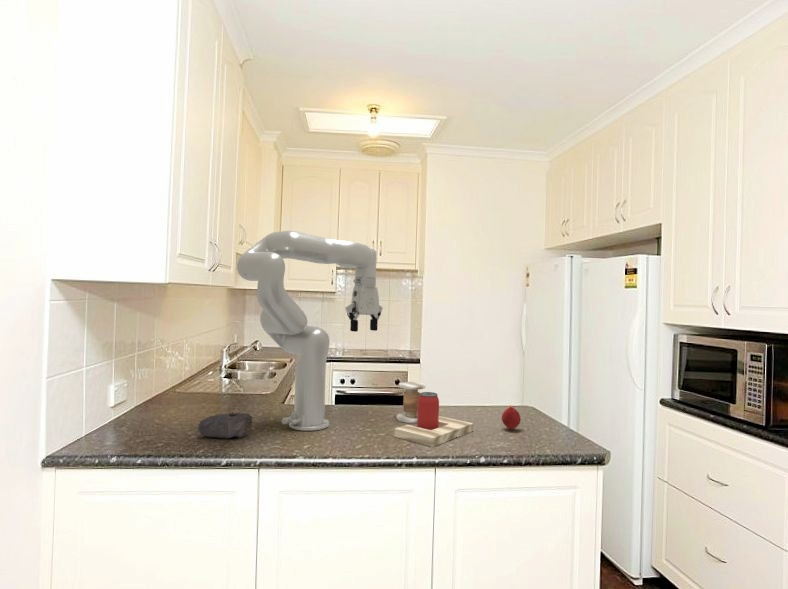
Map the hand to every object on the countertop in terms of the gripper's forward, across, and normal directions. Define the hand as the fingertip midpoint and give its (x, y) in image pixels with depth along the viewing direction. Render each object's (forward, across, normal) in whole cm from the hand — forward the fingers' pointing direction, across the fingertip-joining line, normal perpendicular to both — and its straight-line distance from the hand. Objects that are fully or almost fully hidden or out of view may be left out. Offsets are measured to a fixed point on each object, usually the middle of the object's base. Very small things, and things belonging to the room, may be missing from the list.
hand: (364, 330), depth 173 cm
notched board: (+29, -2, -34) cm, 45 cm away
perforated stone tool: (+30, -50, +5) cm, 58 cm away
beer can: (+30, -2, -32) cm, 43 cm away
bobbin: (+29, +6, -18) cm, 35 cm away
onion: (+30, +20, -48) cm, 60 cm away
